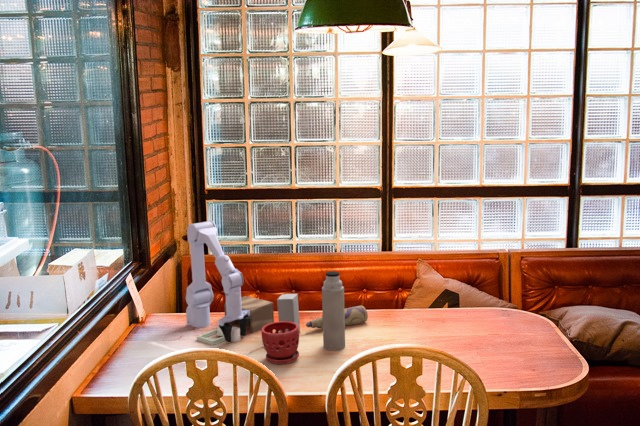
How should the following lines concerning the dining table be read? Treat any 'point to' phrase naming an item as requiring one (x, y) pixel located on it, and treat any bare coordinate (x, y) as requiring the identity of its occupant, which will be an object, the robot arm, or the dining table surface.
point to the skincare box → (288, 309)
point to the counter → (256, 312)
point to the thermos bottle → (333, 312)
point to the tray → (210, 340)
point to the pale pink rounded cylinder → (219, 331)
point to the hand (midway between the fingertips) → (235, 338)
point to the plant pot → (281, 342)
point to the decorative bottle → (351, 317)
